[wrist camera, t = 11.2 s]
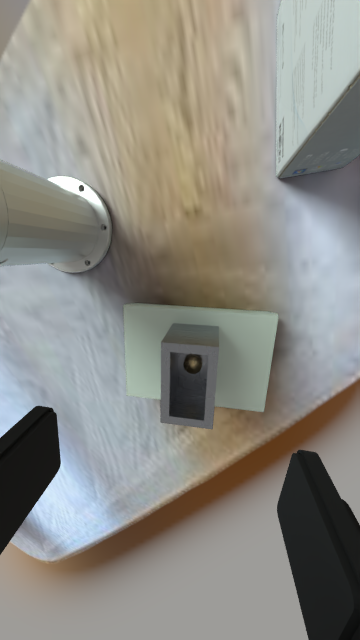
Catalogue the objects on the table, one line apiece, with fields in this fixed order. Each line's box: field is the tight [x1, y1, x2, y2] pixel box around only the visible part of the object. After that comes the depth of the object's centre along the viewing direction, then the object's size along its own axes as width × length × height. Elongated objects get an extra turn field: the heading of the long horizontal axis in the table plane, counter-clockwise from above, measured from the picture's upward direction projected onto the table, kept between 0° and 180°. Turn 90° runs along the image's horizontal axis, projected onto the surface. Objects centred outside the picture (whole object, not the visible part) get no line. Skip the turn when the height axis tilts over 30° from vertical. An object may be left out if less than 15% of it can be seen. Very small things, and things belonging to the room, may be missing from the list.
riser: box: [123, 303, 279, 412], centre depth 34 cm, size 20×14×4 cm
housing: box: [161, 323, 219, 429], centre depth 29 cm, size 10×6×7 cm, turn 178°
